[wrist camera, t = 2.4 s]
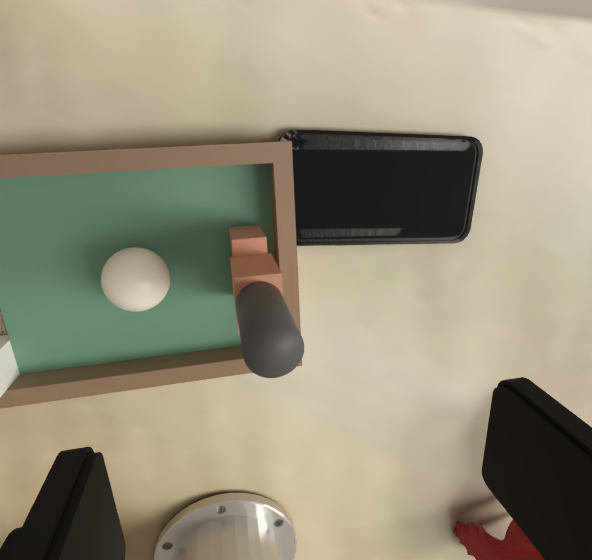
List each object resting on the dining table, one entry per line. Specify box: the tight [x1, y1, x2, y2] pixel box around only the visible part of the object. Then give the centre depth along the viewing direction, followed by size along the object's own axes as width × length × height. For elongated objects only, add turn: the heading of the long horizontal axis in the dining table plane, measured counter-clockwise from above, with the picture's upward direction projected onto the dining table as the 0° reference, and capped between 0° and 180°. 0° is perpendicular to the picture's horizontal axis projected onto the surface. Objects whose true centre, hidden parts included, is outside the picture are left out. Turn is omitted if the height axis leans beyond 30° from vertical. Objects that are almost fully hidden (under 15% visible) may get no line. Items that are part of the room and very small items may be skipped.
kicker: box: [229, 225, 304, 378], centre depth 22 cm, size 5×2×13 cm, turn 3°
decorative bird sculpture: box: [453, 520, 545, 560], centre depth 39 cm, size 28×9×15 cm
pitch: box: [0, 141, 302, 408], centre depth 25 cm, size 15×24×5 cm, turn 93°
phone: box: [278, 130, 483, 246], centre depth 29 cm, size 8×1×15 cm
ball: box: [101, 247, 170, 312], centre depth 25 cm, size 4×4×4 cm
